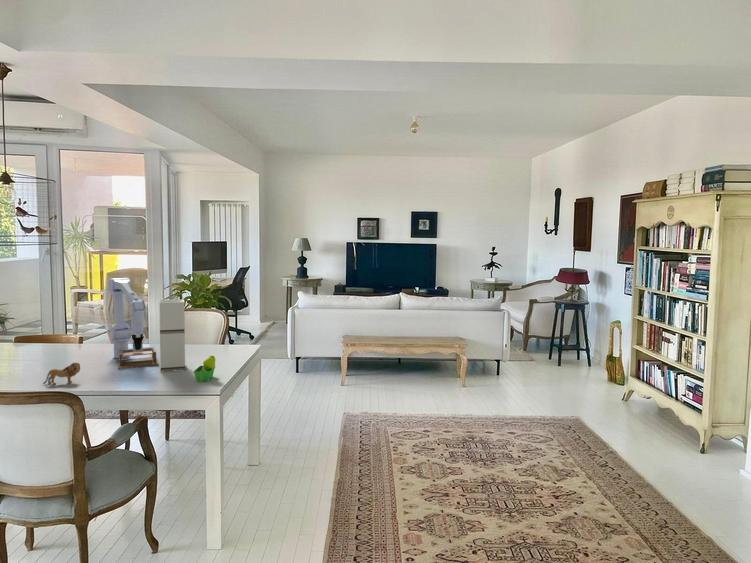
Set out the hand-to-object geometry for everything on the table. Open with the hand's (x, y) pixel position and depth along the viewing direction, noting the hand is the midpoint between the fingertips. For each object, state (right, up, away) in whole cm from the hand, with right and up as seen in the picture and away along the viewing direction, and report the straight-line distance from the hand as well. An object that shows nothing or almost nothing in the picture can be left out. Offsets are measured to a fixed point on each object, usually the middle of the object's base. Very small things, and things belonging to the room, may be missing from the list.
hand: (137, 348), depth 261 cm
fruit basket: (+44, -12, -23) cm, 51 cm away
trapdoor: (-1, -4, +3) cm, 5 cm away
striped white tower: (+21, -10, -6) cm, 24 cm away
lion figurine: (-18, -11, -34) cm, 40 cm away
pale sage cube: (0, -1, 0) cm, 1 cm away
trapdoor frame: (-1, -8, +2) cm, 8 cm away
